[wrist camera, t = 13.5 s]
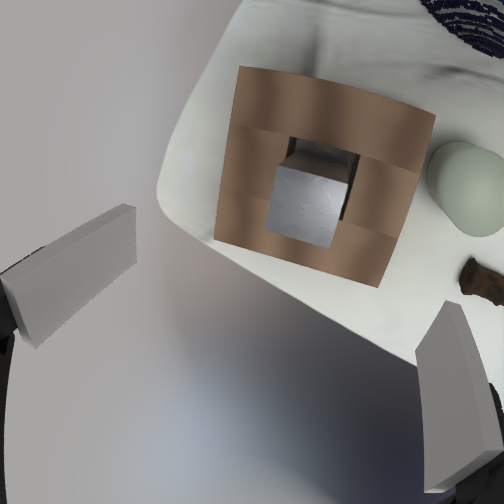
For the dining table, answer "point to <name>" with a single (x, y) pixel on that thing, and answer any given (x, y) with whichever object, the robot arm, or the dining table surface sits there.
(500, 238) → the dining table surface
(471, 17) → the decorative bowl
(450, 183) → the round stub
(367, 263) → the socket block
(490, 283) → the hand tool
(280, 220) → the square bar
